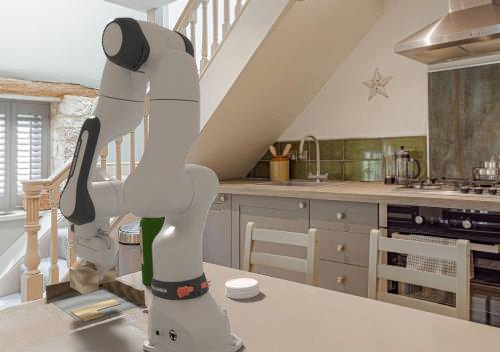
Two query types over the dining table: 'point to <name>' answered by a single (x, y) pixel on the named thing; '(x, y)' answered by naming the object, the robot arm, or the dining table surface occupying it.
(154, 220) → the wine bottle
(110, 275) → the oak L block
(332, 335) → the dining table surface
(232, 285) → the coaster
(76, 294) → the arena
